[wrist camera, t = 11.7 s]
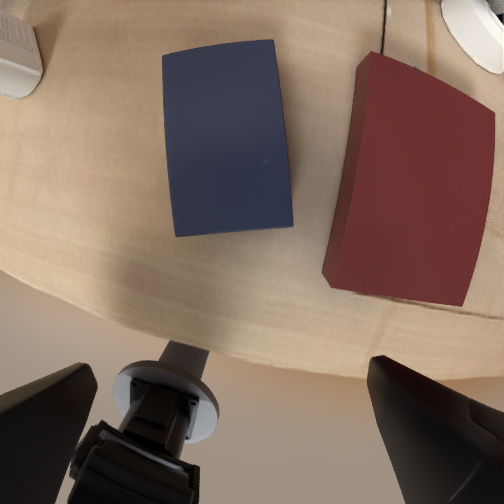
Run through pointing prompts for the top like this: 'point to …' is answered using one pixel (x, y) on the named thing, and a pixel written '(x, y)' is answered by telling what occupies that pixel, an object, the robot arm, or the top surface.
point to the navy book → (226, 139)
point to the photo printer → (18, 57)
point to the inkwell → (478, 30)
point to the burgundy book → (411, 187)
